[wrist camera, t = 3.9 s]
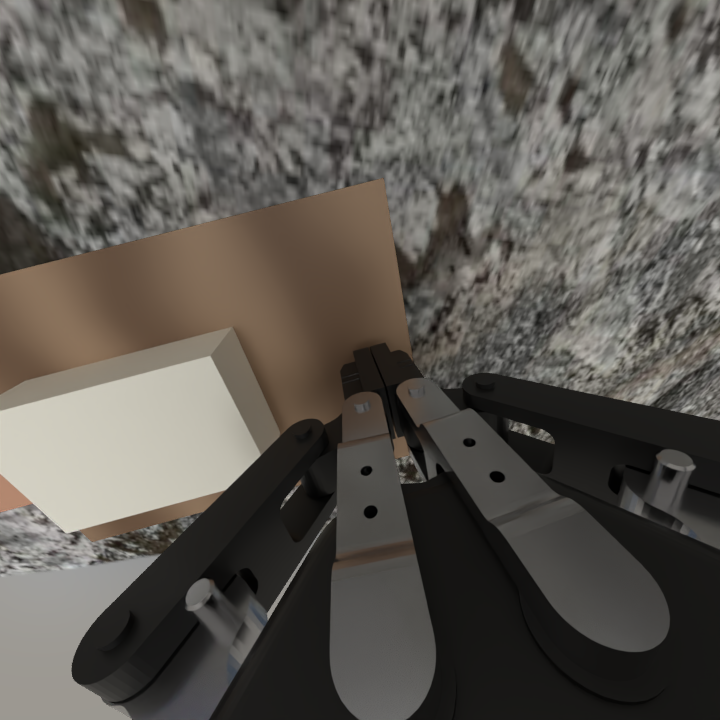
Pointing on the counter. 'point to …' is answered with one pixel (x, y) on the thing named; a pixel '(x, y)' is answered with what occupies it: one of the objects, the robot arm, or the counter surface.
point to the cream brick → (135, 430)
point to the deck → (223, 306)
